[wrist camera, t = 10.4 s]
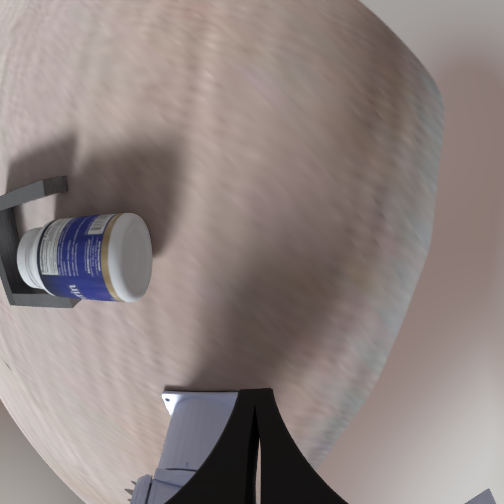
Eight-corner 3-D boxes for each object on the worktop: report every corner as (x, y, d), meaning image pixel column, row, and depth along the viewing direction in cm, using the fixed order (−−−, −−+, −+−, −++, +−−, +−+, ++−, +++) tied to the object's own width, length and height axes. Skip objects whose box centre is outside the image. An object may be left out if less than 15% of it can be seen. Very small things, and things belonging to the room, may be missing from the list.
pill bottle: (153, 303, 19) (54, 296, 19) (157, 226, 20) (59, 231, 20) (115, 302, 13) (8, 290, 13) (123, 198, 14) (17, 212, 14)
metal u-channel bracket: (90, 291, 20) (72, 308, 18) (27, 292, 21) (10, 305, 18) (65, 175, 17) (42, 179, 14) (4, 197, 18) (-16, 203, 15)
